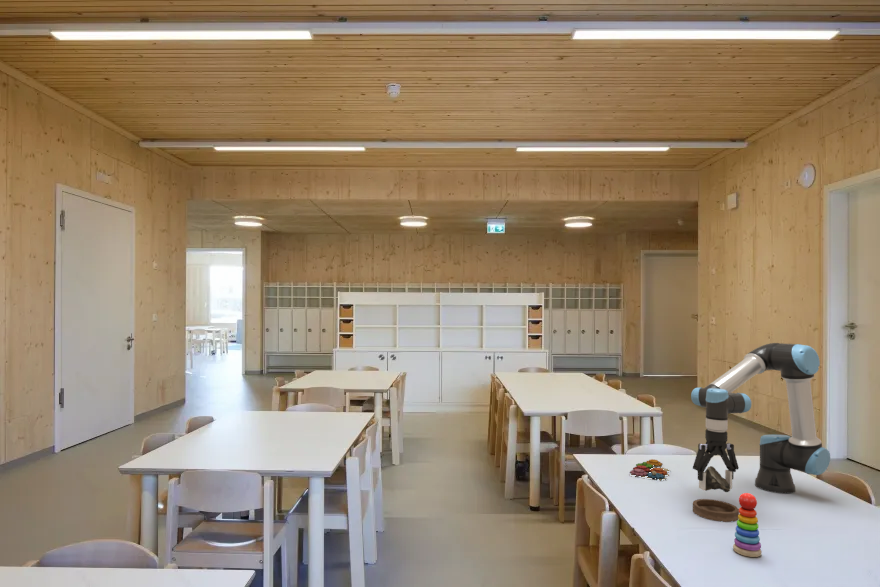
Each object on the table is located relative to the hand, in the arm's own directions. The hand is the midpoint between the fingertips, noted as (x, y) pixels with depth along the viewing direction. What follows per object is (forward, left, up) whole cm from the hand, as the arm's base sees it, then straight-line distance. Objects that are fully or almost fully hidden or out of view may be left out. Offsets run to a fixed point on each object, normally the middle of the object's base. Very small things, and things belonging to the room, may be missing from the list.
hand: (715, 488), depth 211 cm
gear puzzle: (-10, -56, -10) cm, 57 cm away
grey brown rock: (0, 0, -1) cm, 1 cm away
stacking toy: (+14, +32, -10) cm, 36 cm away
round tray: (0, 0, -10) cm, 10 cm away
